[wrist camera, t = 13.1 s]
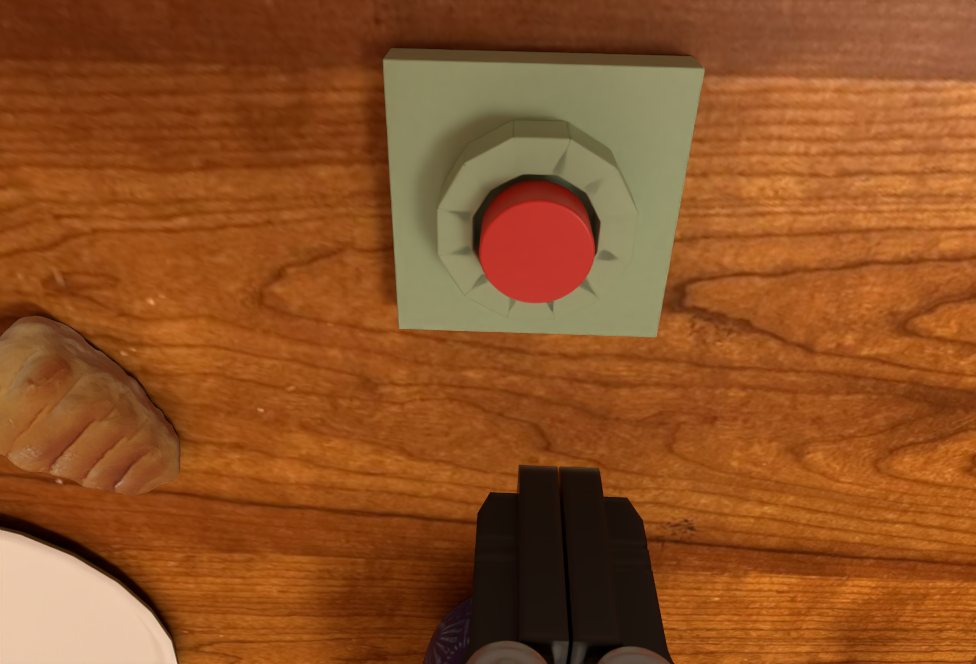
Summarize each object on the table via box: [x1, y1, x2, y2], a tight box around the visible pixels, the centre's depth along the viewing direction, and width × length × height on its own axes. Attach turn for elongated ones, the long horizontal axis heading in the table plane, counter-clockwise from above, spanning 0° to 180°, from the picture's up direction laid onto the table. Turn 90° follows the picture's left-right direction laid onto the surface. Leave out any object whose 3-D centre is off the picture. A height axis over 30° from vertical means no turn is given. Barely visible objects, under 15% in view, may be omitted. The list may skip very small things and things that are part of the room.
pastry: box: [0, 316, 180, 495], centre depth 30 cm, size 9×7×4 cm
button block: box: [383, 48, 705, 337], centre depth 24 cm, size 10×10×4 cm
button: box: [479, 180, 595, 303], centre depth 23 cm, size 4×4×2 cm
